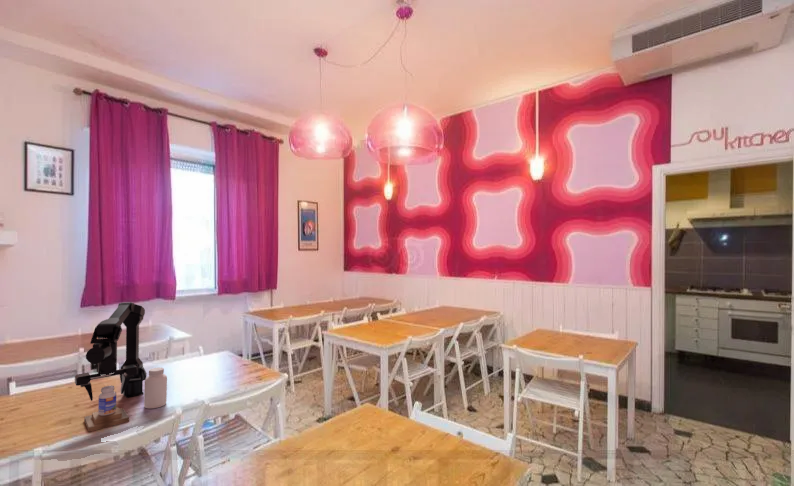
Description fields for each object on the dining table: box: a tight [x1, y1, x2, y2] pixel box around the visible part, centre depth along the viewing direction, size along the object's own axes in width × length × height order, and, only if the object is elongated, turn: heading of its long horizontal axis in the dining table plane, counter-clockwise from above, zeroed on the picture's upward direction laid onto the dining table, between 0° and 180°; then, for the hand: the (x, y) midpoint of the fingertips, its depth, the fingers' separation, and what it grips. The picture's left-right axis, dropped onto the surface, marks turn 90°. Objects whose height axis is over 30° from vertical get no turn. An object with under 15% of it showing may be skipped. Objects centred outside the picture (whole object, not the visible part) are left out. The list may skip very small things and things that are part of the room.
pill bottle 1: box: [97, 385, 117, 416], centre depth 146 cm, size 5×5×10 cm
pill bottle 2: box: [143, 367, 168, 410], centre depth 161 cm, size 8×8×15 cm
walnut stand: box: [84, 406, 130, 432], centre depth 146 cm, size 12×12×3 cm
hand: (106, 397), depth 146 cm, fingers open, 9 cm apart
